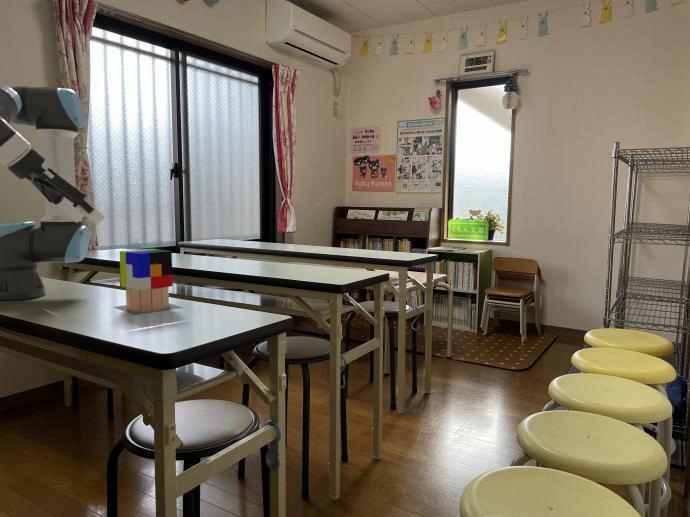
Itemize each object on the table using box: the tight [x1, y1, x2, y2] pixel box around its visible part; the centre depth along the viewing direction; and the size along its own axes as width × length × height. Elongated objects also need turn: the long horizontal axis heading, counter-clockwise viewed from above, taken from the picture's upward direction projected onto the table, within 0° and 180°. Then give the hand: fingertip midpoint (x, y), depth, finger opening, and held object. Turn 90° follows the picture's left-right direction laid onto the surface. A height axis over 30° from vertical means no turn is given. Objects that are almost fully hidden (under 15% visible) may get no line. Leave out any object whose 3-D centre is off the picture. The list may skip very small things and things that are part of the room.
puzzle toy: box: [119, 248, 174, 291], centre depth 142 cm, size 10×10×10 cm
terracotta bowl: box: [125, 287, 170, 312], centre depth 143 cm, size 11×11×6 cm
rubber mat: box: [113, 302, 184, 316], centre depth 143 cm, size 14×14×1 cm
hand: (90, 220), depth 130 cm, fingers open, 13 cm apart
